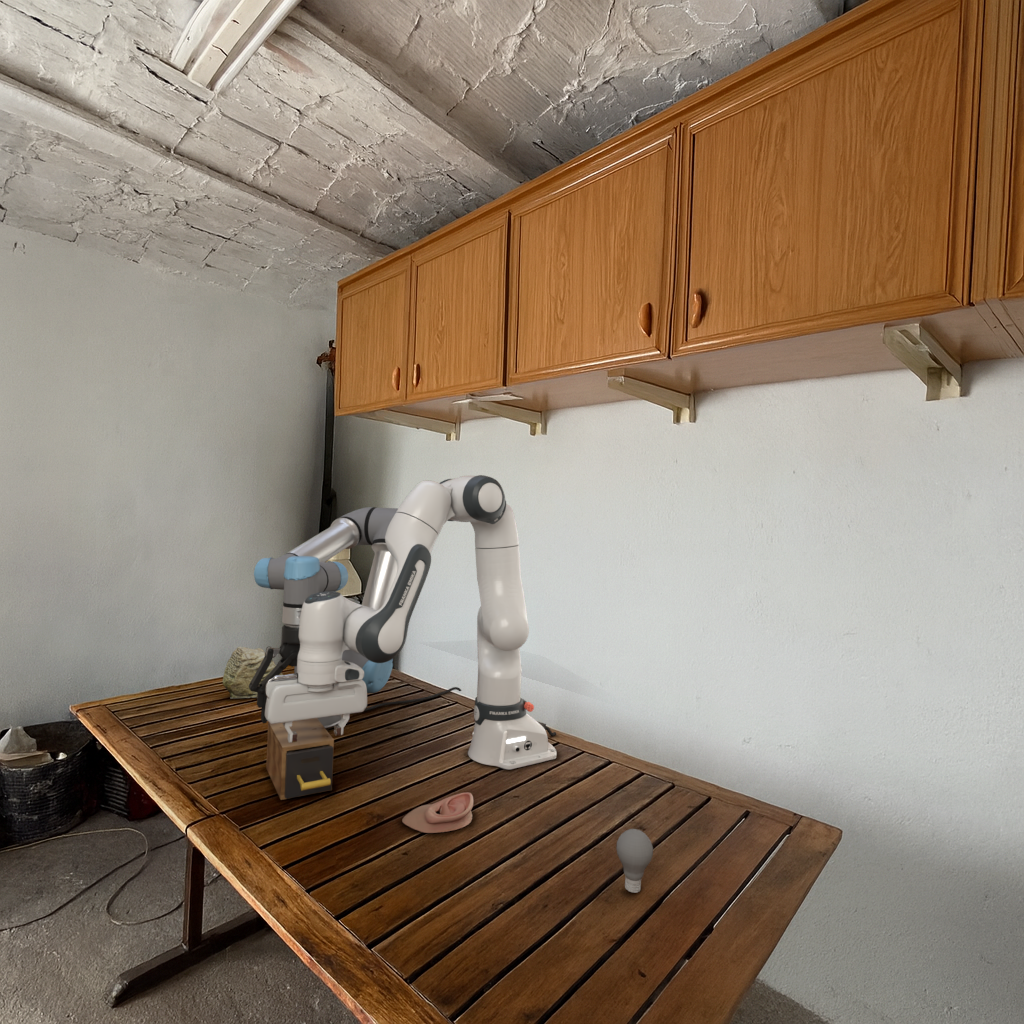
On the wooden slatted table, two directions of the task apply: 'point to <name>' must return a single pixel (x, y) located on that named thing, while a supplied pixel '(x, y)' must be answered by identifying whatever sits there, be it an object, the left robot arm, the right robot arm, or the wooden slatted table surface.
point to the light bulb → (634, 857)
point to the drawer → (308, 771)
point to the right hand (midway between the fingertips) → (315, 738)
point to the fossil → (244, 671)
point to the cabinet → (292, 747)
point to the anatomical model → (442, 814)
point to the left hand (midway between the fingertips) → (295, 717)
